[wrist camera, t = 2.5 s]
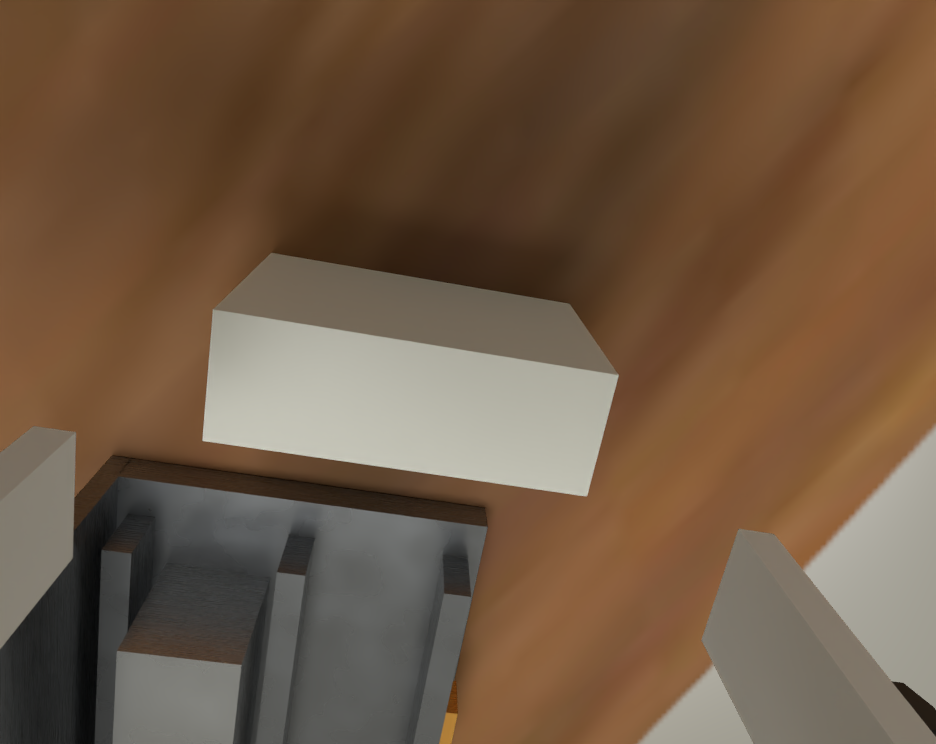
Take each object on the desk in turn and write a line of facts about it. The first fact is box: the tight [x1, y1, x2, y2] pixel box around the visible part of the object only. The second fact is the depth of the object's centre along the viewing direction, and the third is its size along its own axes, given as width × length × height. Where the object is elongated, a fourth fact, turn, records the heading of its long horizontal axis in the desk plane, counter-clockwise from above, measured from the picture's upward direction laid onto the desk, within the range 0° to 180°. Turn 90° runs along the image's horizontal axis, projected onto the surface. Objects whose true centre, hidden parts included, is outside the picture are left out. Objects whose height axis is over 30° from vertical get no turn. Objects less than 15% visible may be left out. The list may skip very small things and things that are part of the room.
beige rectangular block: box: [202, 253, 619, 496], centre depth 25 cm, size 11×4×8 cm, turn 79°
